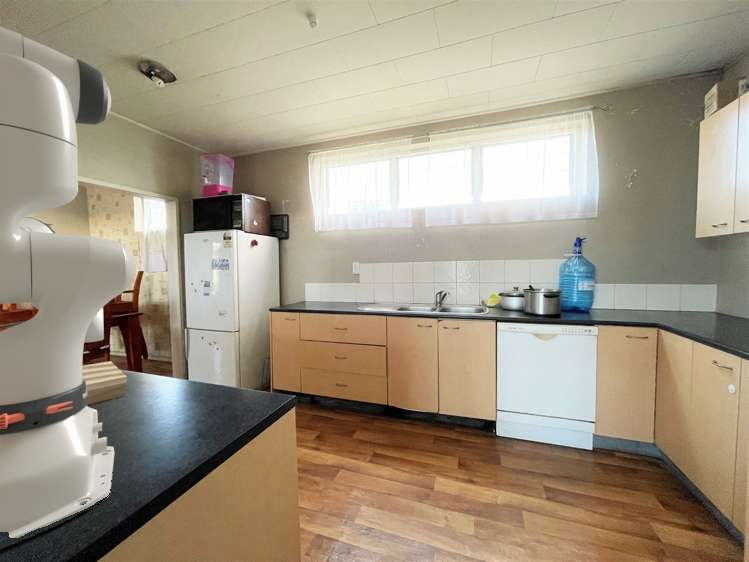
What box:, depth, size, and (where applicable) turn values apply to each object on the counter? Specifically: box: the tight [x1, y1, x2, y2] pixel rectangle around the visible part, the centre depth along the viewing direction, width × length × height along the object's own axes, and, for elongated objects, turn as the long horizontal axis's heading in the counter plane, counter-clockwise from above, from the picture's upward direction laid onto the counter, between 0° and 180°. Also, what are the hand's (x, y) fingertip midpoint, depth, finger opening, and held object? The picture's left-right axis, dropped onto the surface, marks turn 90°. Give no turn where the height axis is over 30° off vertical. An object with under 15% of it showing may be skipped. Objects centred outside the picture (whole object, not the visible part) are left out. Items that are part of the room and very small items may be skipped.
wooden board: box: [82, 360, 128, 406], centre depth 82 cm, size 22×14×5 cm, turn 50°
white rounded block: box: [84, 307, 105, 344], centre depth 80 cm, size 5×5×8 cm
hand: (93, 321), depth 80 cm, fingers closed on white rounded block, 5 cm apart
